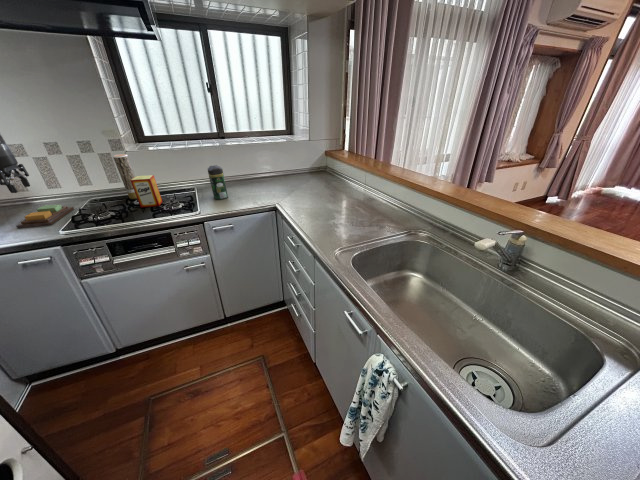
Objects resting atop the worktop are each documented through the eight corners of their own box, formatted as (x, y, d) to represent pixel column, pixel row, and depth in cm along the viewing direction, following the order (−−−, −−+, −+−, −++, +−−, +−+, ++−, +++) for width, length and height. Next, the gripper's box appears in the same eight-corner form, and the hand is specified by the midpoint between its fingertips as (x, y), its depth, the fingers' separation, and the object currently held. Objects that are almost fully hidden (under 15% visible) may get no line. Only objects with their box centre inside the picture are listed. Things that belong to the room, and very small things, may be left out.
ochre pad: (27, 222, 130) (24, 216, 128) (34, 218, 134) (31, 212, 133) (46, 220, 131) (43, 214, 130) (52, 216, 136) (49, 210, 134)
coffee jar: (212, 195, 162) (205, 165, 153) (225, 193, 165) (219, 163, 156) (215, 201, 155) (208, 169, 145) (229, 198, 158) (223, 167, 149)
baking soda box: (162, 201, 155) (153, 174, 147) (159, 205, 150) (149, 178, 142) (144, 203, 153) (134, 175, 145) (140, 207, 148) (129, 179, 140)
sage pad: (39, 214, 138) (36, 209, 136) (45, 210, 142) (42, 205, 140) (57, 213, 139) (54, 207, 138) (63, 209, 143) (60, 204, 142)
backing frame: (17, 228, 128) (14, 223, 126) (44, 211, 144) (41, 207, 143) (51, 225, 130) (48, 220, 129) (74, 209, 147) (71, 204, 146)
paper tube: (139, 194, 166) (124, 153, 153) (144, 197, 162) (128, 155, 149) (127, 197, 161) (110, 155, 149) (131, 200, 157) (115, 157, 145)
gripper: (2, 151, 123) (22, 185, 131) (-24, 158, 111) (-1, 195, 119) (22, 150, 124) (40, 184, 132) (-2, 157, 112) (19, 194, 120)
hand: (21, 189), depth 125 cm, fingers open, 8 cm apart
